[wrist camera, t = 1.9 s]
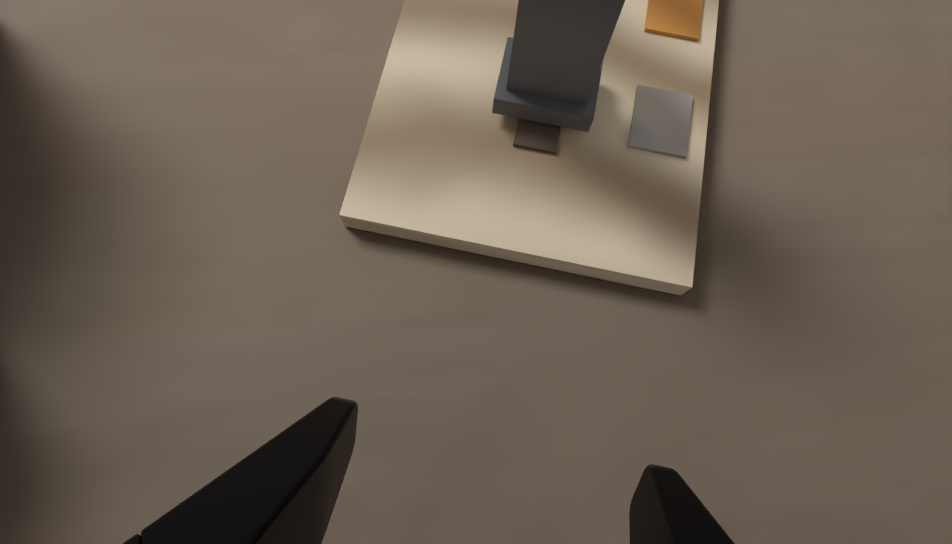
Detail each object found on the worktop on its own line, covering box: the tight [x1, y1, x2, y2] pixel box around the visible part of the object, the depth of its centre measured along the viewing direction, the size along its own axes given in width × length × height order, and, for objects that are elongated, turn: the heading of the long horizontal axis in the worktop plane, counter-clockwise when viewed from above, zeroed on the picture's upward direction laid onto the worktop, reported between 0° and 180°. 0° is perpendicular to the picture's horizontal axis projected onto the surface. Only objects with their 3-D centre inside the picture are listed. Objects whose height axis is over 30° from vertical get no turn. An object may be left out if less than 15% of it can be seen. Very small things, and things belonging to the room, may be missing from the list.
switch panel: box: [340, 0, 719, 296], centre depth 25 cm, size 20×14×4 cm
